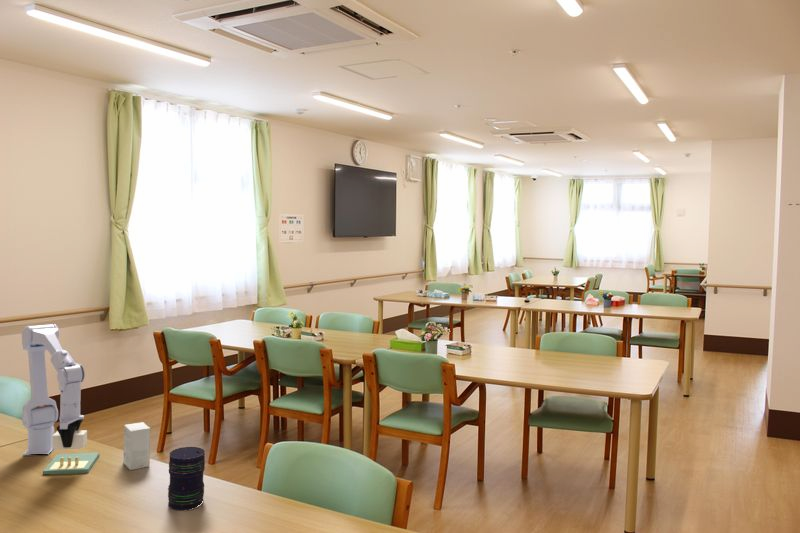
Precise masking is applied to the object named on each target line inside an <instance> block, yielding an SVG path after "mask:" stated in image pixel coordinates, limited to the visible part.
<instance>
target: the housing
mask: <svg viewBox="0 0 800 533" xmlns="http://www.w3.org/2000/svg"><path fill="white" fill-rule="evenodd" d="M87 444H88V430H87V429H85V430H83V429H81V430H80V429H79V430H76V431H75V432H74V435H73V441H72V445H71V447H68V448H64V447H63V444H62V440H61V436H60V434H59V432H58V431H57V430H56V431H55V432H54V435H53V436H52V451H53V450H80V449H81V450H82V449H84V448H85V447H86V446H87Z"/></svg>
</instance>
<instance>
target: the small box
mask: <svg viewBox="0 0 800 533" xmlns="http://www.w3.org/2000/svg"><path fill="white" fill-rule="evenodd" d="M123 429H124V430H123V455H122V456H123V458H122V462H123V464H124V465H125V466H126V467H127V469H129V470H130V471H132V470H138V469H143V468H147V467H150V463H151V462H150V460H151V459H150V458H151V456H150V455H151V427H150V426H148V425H147V423H145V422H143V421H141V422H134V423H127V424H124V428H123Z"/></svg>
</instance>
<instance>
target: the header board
mask: <svg viewBox="0 0 800 533" xmlns="http://www.w3.org/2000/svg"><path fill="white" fill-rule="evenodd" d="M99 457H100V452H81V453H80V452H76V453H57V454H56V455H55V457H54V458H53V459H52V460H51V461H50V462H49V463H48V464H47V465H46V467H45V468H44V469H43V470H42V475H43V474H50V475H70V474H72V475H73V474H87V473H88V474H89V472H90V470H91V469H92V467H94V464H95V463H96V461H97V460H98V459H99ZM97 458H98V459H97Z"/></svg>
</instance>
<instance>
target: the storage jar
mask: <svg viewBox="0 0 800 533" xmlns="http://www.w3.org/2000/svg"><path fill="white" fill-rule="evenodd" d="M205 454H206V450H205V449H204V448H201V447H198V446H185V447H178V448H176V449H173V450H172V451H170V452H169V458H168V460H169V462H168V474H169V484H168V487H167V497H168V500H167V501H168V504H167V505H168V508H170V510H173V511H179V512H182V511H183V512H184V511H185V510H186V511H190V510H189V509H192V508H195V507H197V506H198V505H200V504H201V503H202V501H203V502H204V494H205V483H204V472H205V468H206V467H205V465H206V459H205V456H206V455H205ZM195 509H196V508H195ZM192 510H193V509H192ZM186 511H185V512H186Z"/></svg>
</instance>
